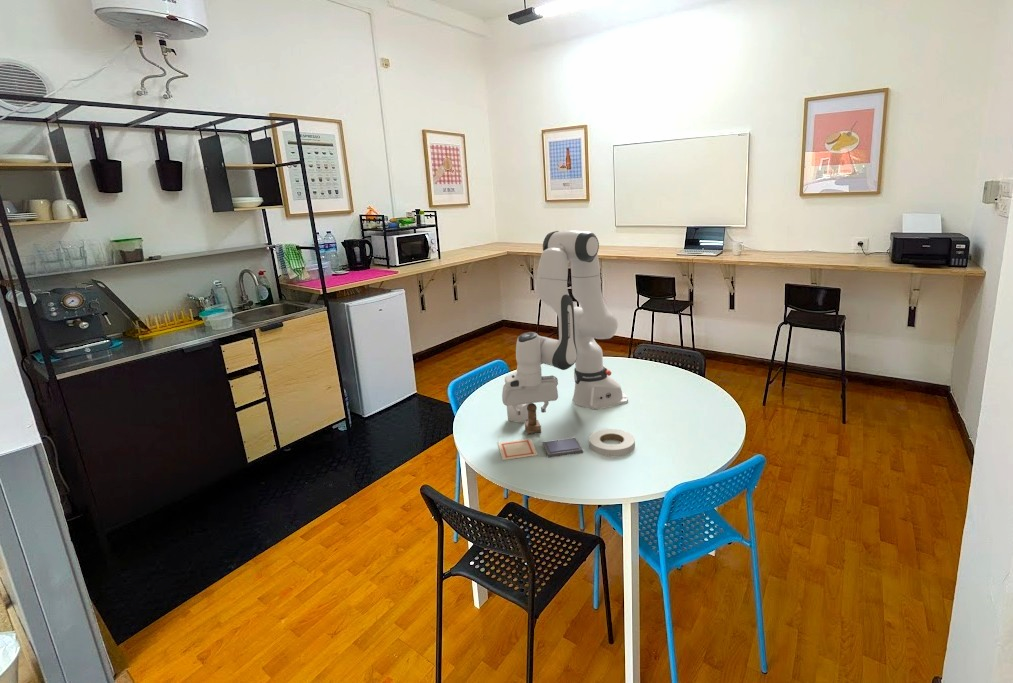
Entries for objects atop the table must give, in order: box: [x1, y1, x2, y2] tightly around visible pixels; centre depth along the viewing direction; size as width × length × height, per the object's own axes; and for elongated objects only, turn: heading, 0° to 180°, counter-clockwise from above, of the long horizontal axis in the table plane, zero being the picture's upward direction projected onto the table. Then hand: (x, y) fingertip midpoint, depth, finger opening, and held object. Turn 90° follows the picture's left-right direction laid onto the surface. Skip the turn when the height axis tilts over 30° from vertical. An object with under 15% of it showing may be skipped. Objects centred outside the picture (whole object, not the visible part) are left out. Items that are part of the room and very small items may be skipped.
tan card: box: [497, 438, 539, 461], centre depth 178 cm, size 12×12×1 cm
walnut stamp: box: [524, 403, 542, 436], centre depth 189 cm, size 5×5×11 cm
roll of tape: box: [588, 428, 636, 458], centre depth 176 cm, size 16×15×3 cm
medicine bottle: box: [506, 403, 530, 424], centre depth 199 cm, size 7×7×12 cm
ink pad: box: [541, 437, 584, 459], centre depth 176 cm, size 12×9×2 cm
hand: (530, 413), depth 188 cm, fingers open, 8 cm apart
